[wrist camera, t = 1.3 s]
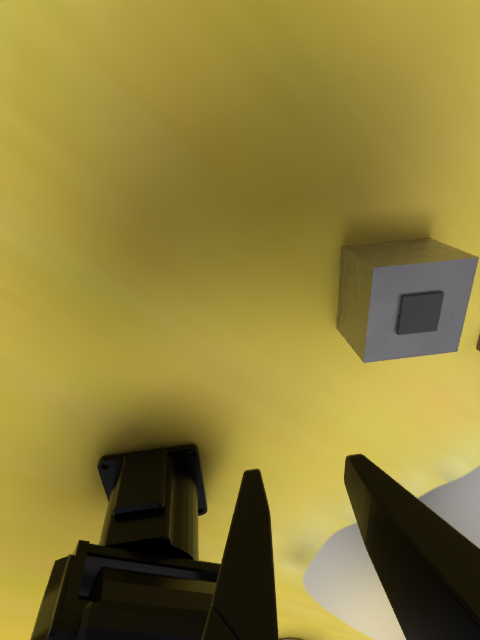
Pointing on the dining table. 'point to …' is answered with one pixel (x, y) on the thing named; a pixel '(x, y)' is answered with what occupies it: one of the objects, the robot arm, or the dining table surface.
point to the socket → (403, 298)
